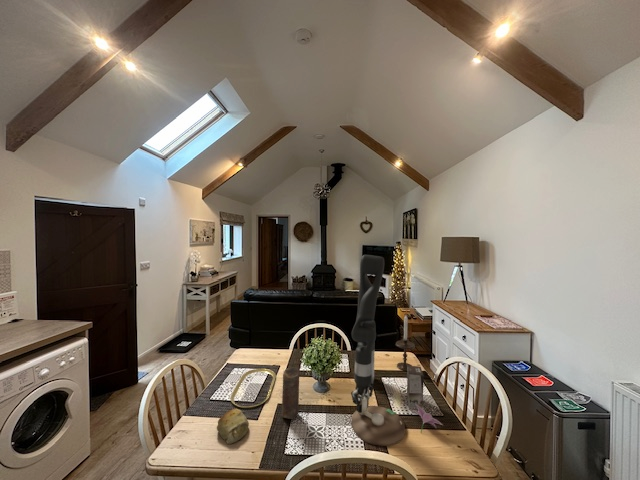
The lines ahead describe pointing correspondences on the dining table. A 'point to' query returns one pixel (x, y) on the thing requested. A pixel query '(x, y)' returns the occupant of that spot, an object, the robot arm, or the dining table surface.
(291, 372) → the candle
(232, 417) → the pastry
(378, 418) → the tuning crank
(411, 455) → the dining table surface
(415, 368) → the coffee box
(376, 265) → the robot arm
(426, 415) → the lily
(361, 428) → the brown flat rounded piece
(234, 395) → the brass oval ring
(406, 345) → the candlestick
